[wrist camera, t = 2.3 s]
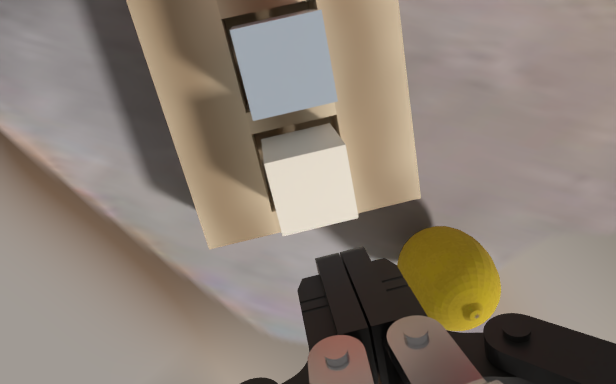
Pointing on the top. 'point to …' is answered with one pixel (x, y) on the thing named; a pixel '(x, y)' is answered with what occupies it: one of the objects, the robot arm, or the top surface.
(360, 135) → the tray
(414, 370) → the robot arm
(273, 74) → the blue key
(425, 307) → the lemon
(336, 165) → the ivory key
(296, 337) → the top surface
